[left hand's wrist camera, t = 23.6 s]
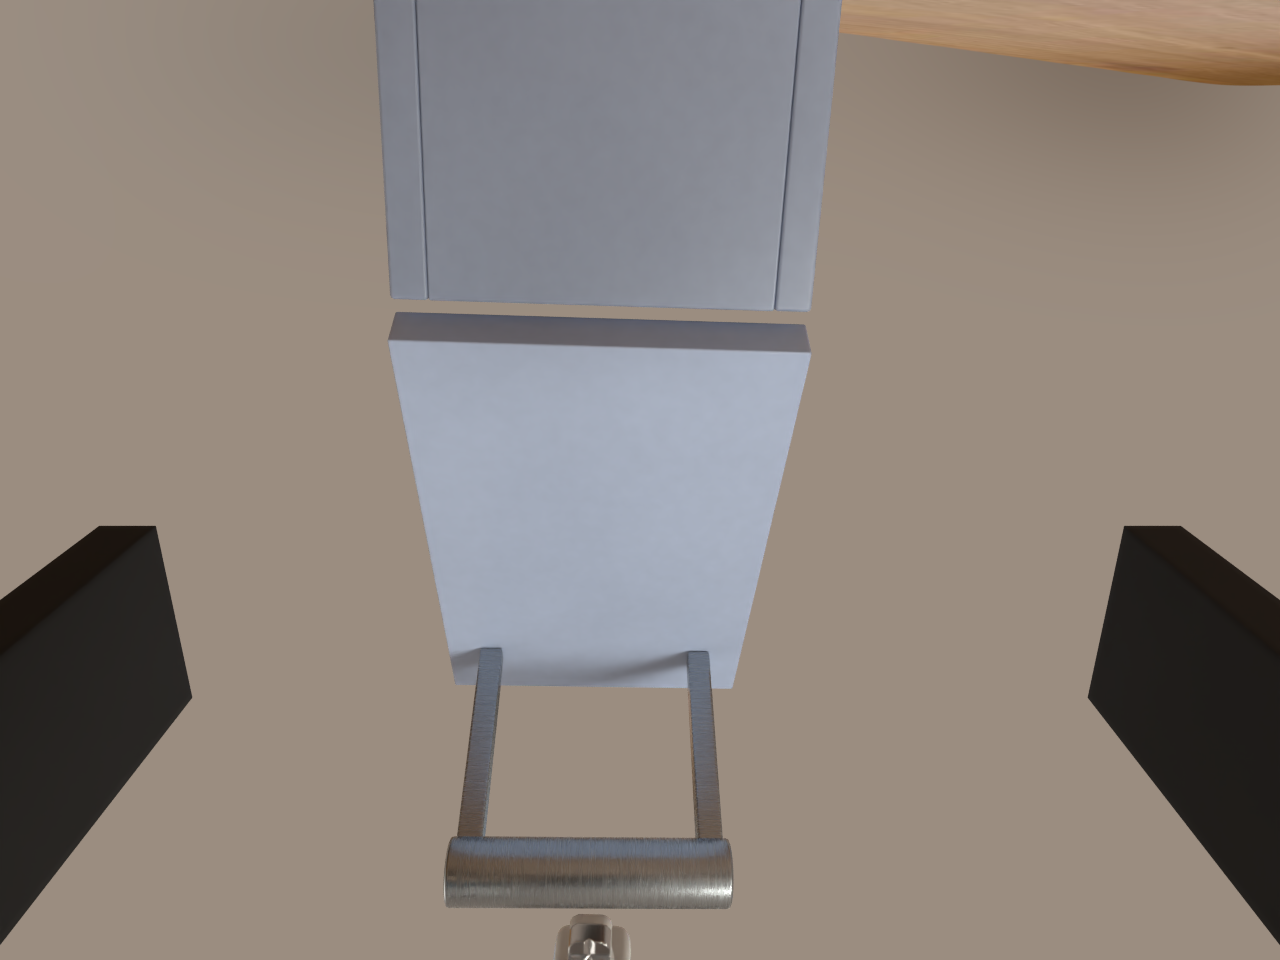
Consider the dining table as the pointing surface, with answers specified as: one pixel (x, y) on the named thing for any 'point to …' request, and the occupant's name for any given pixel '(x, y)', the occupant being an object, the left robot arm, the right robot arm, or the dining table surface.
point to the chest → (605, 150)
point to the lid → (595, 551)
